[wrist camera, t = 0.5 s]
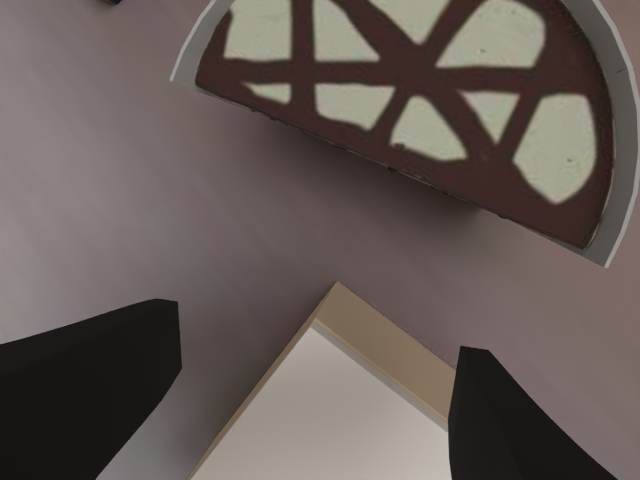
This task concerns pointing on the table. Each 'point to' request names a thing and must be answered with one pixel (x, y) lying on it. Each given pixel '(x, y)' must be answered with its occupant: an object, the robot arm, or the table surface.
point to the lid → (330, 424)
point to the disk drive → (114, 1)
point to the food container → (447, 98)
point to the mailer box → (370, 354)
